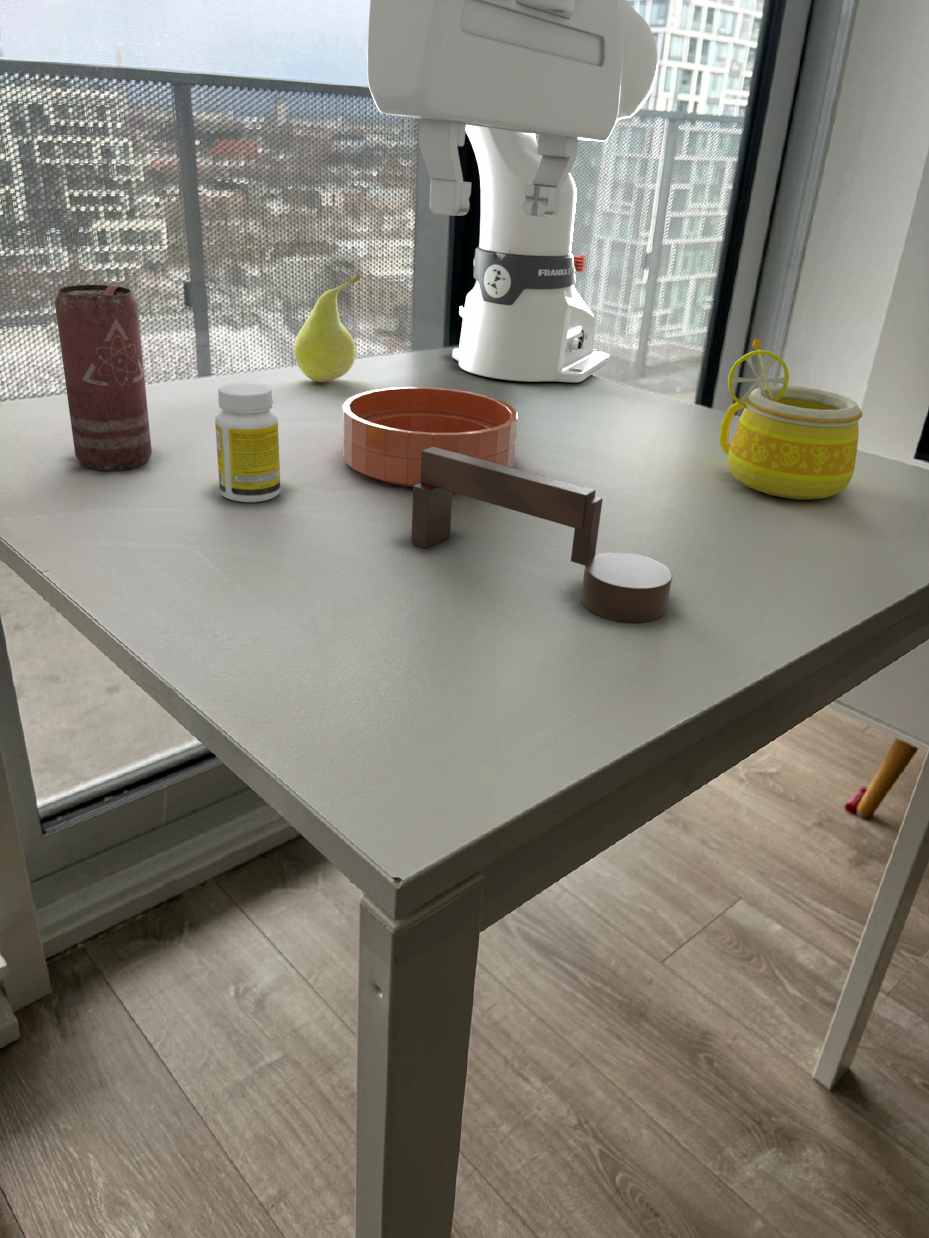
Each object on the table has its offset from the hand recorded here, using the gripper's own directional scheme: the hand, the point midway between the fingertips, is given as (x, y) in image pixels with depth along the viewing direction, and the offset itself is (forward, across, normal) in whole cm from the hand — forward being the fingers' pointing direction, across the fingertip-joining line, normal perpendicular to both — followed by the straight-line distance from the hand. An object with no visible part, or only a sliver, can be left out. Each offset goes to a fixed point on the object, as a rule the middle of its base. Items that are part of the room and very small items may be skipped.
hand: (497, 215), depth 57 cm
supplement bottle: (+23, +2, -20) cm, 30 cm away
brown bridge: (+22, -1, +5) cm, 23 cm away
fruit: (+22, -28, -42) cm, 55 cm away
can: (+23, +5, -34) cm, 41 cm away
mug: (+21, -34, +10) cm, 41 cm away
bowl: (+22, -14, -15) cm, 30 cm away
